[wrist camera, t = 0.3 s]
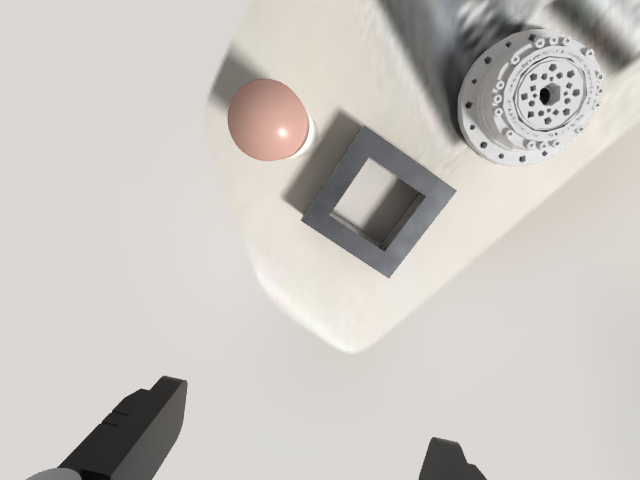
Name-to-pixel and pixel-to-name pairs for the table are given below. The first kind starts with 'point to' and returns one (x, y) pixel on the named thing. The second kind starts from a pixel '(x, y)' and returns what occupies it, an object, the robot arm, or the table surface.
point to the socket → (409, 225)
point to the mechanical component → (529, 97)
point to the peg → (271, 121)
